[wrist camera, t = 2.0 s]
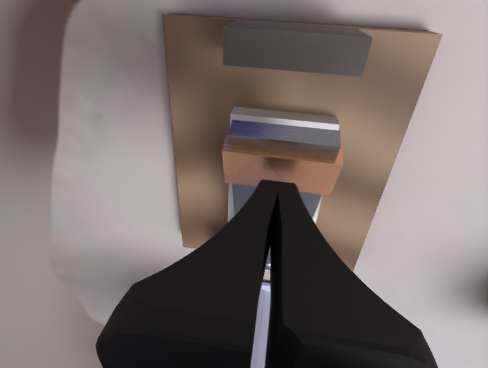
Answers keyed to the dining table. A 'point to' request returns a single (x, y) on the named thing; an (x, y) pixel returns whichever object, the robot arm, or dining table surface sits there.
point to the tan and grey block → (281, 160)
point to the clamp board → (291, 108)
